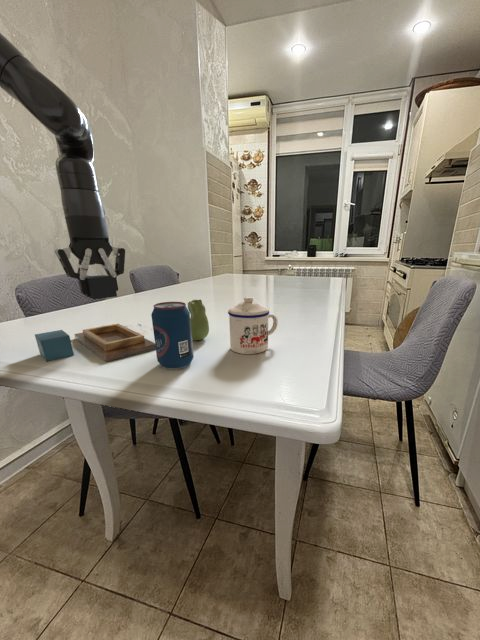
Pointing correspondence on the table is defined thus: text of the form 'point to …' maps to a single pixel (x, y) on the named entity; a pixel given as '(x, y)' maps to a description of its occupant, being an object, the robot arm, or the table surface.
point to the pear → (198, 320)
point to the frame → (114, 341)
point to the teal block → (54, 345)
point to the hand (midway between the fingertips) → (100, 294)
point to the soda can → (172, 335)
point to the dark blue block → (101, 286)
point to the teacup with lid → (250, 327)
